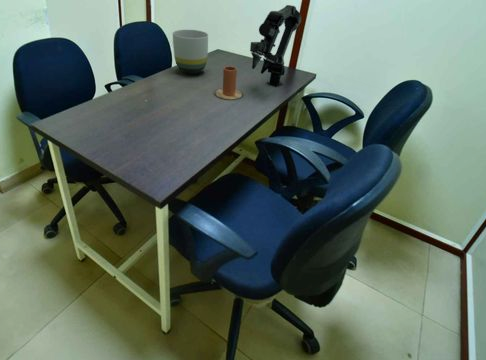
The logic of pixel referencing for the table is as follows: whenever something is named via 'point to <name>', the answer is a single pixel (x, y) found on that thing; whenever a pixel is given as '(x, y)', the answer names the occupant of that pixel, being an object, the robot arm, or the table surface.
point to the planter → (190, 50)
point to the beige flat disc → (221, 95)
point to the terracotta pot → (229, 80)
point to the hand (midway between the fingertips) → (257, 71)
